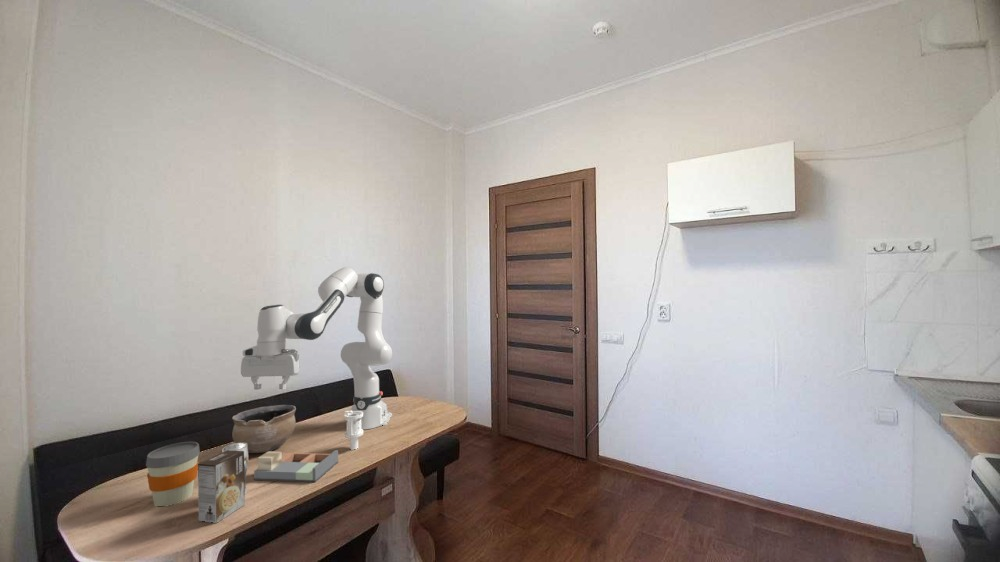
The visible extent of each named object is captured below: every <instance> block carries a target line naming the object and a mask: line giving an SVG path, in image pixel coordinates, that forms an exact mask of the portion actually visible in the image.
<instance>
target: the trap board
mask: <svg viewBox="0 0 1000 562" xmlns="http://www.w3.org/2000/svg"><path fill="white" fill-rule="evenodd" d="M338 463H339V450H338V449H335V450H334V451H332V452H331V453H306V452H305V453H301V452H282V463H281V464H280V465H278V466H277V467H275V468H274V469H272V470H258V468H257V469H255V470H253V477H254V478H253V480H254V481H271V482H273V481H274V482H298V483H299V482H302V483H317V481H319V480H320V479H321V478H323V476H324V475H327V474H326V472H327V473H328V472H330V470H331V469H333V468H334V467H333V466H334V465H335V466H336V465H337V464H338Z"/></svg>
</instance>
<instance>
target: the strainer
mask: <svg viewBox="0 0 1000 562" xmlns="http://www.w3.org/2000/svg"><path fill="white" fill-rule="evenodd" d="M353 414H356V416H351V415H353ZM359 414H360V415H359ZM361 417H363V412H362V411H351V410H345V411H344V417H343V418H344V421H346V431H345V432H344V437H345V438H347V439H349V441H350V442H349V445H350V447H349V450H350V449H351V450H350V451H355V450H354V449H356V450H358V449H359V437H362V436H363V435H364V429H361ZM353 419H354V420H353ZM357 448H358V449H357Z"/></svg>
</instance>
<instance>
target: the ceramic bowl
mask: <svg viewBox="0 0 1000 562" xmlns="http://www.w3.org/2000/svg"><path fill="white" fill-rule="evenodd" d="M296 410H297V408H296V406H295V405H292V404H278V405H268V406H260V407H256V408H252V409H247V410H244V411H241V412H238V413H237V414H235V415H233V416H232V417H231V419H232V420H233V423H234V425H233V427H232V433H231V434H232V435H231V436H232V440H233V441H234V444H235V443H247V444H248V454H265V453H267V452H268V451H271V452H273V451H275V450H277V449H278V448H280V447H281V446H282V445H284V444H285V443H286V441H288V440H289V438H290V437H291V436H292V433H294V430H295V428H296V425H297V424H296V416H295V413H296Z"/></svg>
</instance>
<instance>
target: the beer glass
mask: <svg viewBox="0 0 1000 562" xmlns="http://www.w3.org/2000/svg"><path fill="white" fill-rule="evenodd" d="M227 450H230V451H244V474H245V479H246V477H247V472H248V471H247V470H248V467H249V452H248V444H247V443H235V442H234V443H231V444H229V445H226V446H224V447H223V448H222V449H221V453H222V452H224V451H227ZM247 492H248V489H247V484H246V483H245V495H246V494H247Z"/></svg>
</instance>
